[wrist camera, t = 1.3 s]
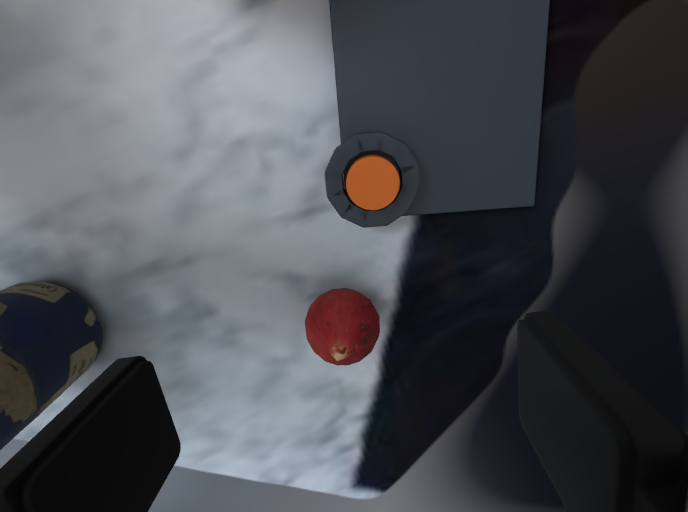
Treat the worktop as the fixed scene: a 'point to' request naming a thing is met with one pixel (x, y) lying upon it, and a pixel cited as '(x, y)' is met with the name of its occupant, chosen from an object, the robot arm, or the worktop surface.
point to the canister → (41, 350)
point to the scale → (439, 102)
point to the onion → (342, 326)
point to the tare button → (372, 182)
